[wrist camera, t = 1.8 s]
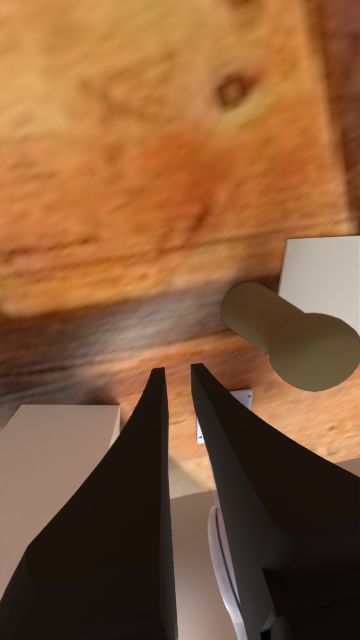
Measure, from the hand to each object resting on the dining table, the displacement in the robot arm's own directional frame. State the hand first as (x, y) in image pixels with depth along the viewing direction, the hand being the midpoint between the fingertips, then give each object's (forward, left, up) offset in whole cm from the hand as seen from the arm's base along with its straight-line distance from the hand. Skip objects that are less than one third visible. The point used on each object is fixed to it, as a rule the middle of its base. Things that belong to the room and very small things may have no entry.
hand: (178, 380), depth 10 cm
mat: (0, -19, -10) cm, 22 cm away
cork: (0, -9, -11) cm, 14 cm away
